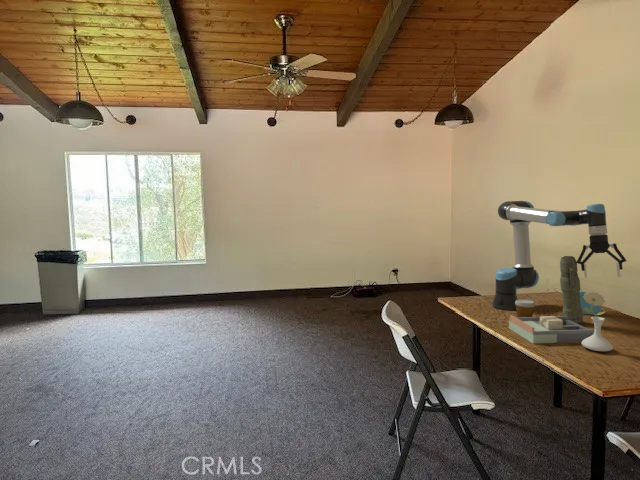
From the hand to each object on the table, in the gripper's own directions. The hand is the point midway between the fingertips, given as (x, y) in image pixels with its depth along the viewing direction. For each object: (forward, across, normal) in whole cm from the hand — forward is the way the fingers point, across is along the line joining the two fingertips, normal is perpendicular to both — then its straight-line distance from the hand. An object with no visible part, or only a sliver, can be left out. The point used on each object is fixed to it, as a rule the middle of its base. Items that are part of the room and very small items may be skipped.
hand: (602, 277), depth 198 cm
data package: (+23, -6, +29) cm, 38 cm away
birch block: (+22, -24, -20) cm, 38 cm away
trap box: (+26, -24, -19) cm, 40 cm away
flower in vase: (+29, -8, -31) cm, 43 cm away
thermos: (+24, -14, +7) cm, 28 cm away
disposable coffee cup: (+23, -36, -6) cm, 44 cm away
